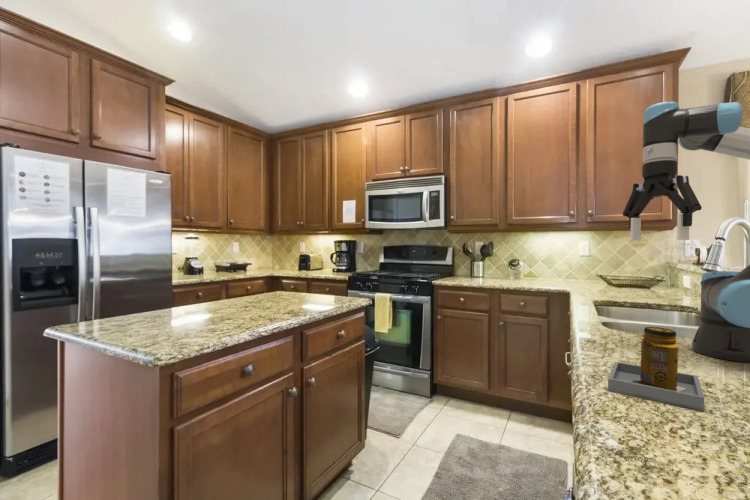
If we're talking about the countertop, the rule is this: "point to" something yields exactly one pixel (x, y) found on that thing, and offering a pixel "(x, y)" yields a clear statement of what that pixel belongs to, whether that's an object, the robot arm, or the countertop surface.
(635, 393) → the tray
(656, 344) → the condiment
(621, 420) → the countertop surface
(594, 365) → the countertop surface
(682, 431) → the countertop surface
